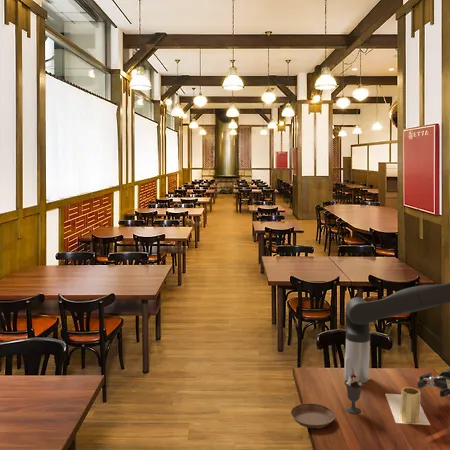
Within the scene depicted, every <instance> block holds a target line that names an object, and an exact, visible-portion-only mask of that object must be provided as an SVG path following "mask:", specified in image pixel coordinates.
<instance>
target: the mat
mask: <svg viewBox="0 0 450 450" xmlns="http://www.w3.org/2000/svg"><path fill="white" fill-rule="evenodd" d="M385 398H386V400H387V403H388V406H389V407H390V411H391V413H392V417H393V420H394V422H395V424H406V425H411V424H410V423H405V422H403V421H402V420H401V419H400V406H401V394H396V393H385ZM415 425H423V426H431V423H430V421H429V419H428V417H427V415H426V413H425V412H424V409H423V407H422V406H421V404H420V416H419V422H418V423H416V424H415Z"/></svg>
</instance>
